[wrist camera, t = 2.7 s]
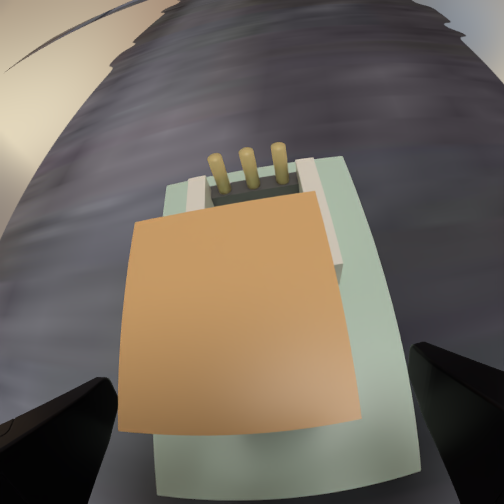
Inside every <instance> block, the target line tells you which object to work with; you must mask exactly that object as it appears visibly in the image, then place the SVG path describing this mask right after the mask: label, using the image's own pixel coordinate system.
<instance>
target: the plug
mask: <svg viewBox="0 0 504 504" xmlns="http://www.w3.org/2000/svg"><path fill="white" fill-rule="evenodd" d="M358 419H362V416H361V409H360V402H359V395H358V388H357V382H356V375H355V369H354V363H353V357H352V352H351V346H350V340H349V335H348V330H347V325H346V319H345V314H344V309H343V304H342V300H341V295H340V290H339V286H338V281H337V276H336V272H335V268H334V263H333V259H332V255H331V251H330V246H329V242H328V238H327V234H326V230H325V226H324V222H323V218H322V215H321V211H320V207H319V203H318V200H317V196H316V192H315V191H310V192H303V193H296V194H289V195H283V196H276V197H270V198H263V199H257V200H251V201H245V202H239V203H233V204H228V205H222V206H216V207H211V208H205V209H200V210H195V211H189V212H184V213H179V214H174V215H169V216H164V217H159V218H154V219H149V220H144V221H140V222H135V226H134V232H133V238H132V244H131V251H130V257H129V264H128V272H127V279H126V288H125V296H124V306H123V316H122V328H121V341H120V357H119V380H118V431H123V432H133V433H145V434H160V435H190V436H212V435H242V434H258V433H270V432H281V431H290V430H298V429H306V428H313V427H319V426H326V425H332V424H338V423H343V422H348V421H353V420H358Z"/></svg>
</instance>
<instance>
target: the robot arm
mask: <svg viewBox="0 0 504 504" xmlns="http://www.w3.org/2000/svg"><path fill="white" fill-rule="evenodd" d="M408 374H409V378H410V381H411V383H412V386H413V389H414V392H415V395H416V398H417V401H418V404H419V407H420V410H421V413H422V415H423V418H424V420H425V422H426V425H427V427H428V429H429V431H430V433H431V435H432V437H433V440H434V442H435V444H436V446H437V448H438V451H439V453H440V455H441V457H442V460H443V462H444V464H445V467H446V469H447V471H448V474H449V476H450V479H451V481H452V483H453V486H454V488H455V491H456V493H457V496H458V498H459V501H460V504H504V371H501V370H499V369H496V368H493V367H490V366H488V365H485V364H482V363H479V362H477V361H474V360H471V359H469V358H466V357H463V356H461V355H458V354H455V353H453V352H450V351H447V350H445V349H442V348H439V347H437V346H434V345H432V344H429V343H426V342H420V343H416V344H413V345H411V347H410V351H409V363H408ZM117 410H118V396H117V394H116V391H115V389H114V387H113V385H112V383H111V381H110V379H109V378H107V377H96V378H94V379H92V380H90V381H88V382H86V383H84V384H82V385H80V386H79V387H77V388H75V389H73V390H71V391H69V392H67V393H65V394H63V395H61V396H59V397H57V398H55V399H53V400H51V401H49V402H47V403H45V404H43V405H41V406H39V407H37V408H35V409H33V410H30V411H28V412H26V413H24V414H22V415H20V416H18V417H16V418H15V419H12V420H10V421H7V422H5V423H3V424H1V425H0V504H88V501H89V498H90V495H91V492H92V489H93V486H94V483H95V480H96V477H97V475H98V472H99V469H100V466H101V463H102V461H103V458H104V455H105V452H106V450H107V447H108V444H109V441H110V437H111V433H112V429H113V425H114V422H115V418H116V414H117Z"/></svg>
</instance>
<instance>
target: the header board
mask: <svg viewBox="0 0 504 504" xmlns="http://www.w3.org/2000/svg"><path fill="white" fill-rule="evenodd" d="M271 151H272V158H273V164H274V165H273V166H266V167H260V168H257V166H256V161H255V157H254V152H253V149H252V148H249V147H246V148H243V149H241V150H240V151H239V156H240V160H241V164H242V167H243V171H237V172H232V173H227V172H226V169H225V166H224V163H223V159H222V156H221V154H219V153H214V154H211V155H210V156H209V157H208V159H207V160H208V163H209V166H210V168H211V171H212V174H213V176H210V177H206V175H205V176H200V177H195V178H190V179H188V181H186V182H181V183H177V184H172V185H168V186H167V189H166V196H165V204H164V211H163V217H164V216H169V215H174V214H179V213H184V212H189V211H195V210H200V209H205V208H211V207H216V206H222V205H228V204H233V203H239V202H245V201H251V200H257V199H263V198H270V197H276V196H283V195H289V194H296V193H303V192H310V191H315V192H316V196H317V200H318V203H319V207H320V211H321V215H322V218H323V222H324V226H325V230H326V234H327V238H328V242H329V246H330V251H331V255H332V259H333V263H334V268H335V272H336V276H337V281H338V286H339V290H340V295H341V300H342V304H343V309H344V314H345V319H346V325H347V330H348V335H349V340H350V346H351V352H352V357H353V363H354V369H355V375H356V382H357V388H358V395H359V402H360V409H361V416H362V419H358V420H353V421H348V422H343V423H338V424H332V425H326V426H319V427H313V428H306V429H298V430H290V431H281V432H270V433H258V434H242V435H212V436H190V435H160V434H153V442H154V461H155V476H156V488H157V495H159V496H167V497H176V498H187V499H202V500H269V499H283V498H295V497H304V496H312V495H320V494H326V493H333V492H338V491H344V490H349V489H354V488H359V487H364V486H368V485H373V484H377V483H381V482H385V481H388V480H392V479H396V478H399V477H403V476H406V475H409V474H413V473H416V472H419V471H421V463H420V453H419V443H418V435H417V427H416V420H415V413H414V406H413V400H412V394H411V388H410V382H409V377H408V371H407V366H406V361H405V357H404V352H403V347H402V343H401V338H400V334H399V330H398V325H397V321H396V317H395V313H394V309H393V305H392V302H391V298H390V294H389V290H388V287H387V283H386V280H385V276H384V273H383V269H382V266H381V263H380V259H379V256H378V253H377V250H376V247H375V244H374V240H373V237H372V234H371V231H370V228H369V225H368V223H367V220H366V217H365V214H364V211H363V208H362V206H361V203H360V200H359V197H358V195H357V192H356V189H355V187H354V184H353V181H352V179H351V176H350V174H349V171H348V169H347V166H346V164H345V161H344V159H343V156H339V157H330V158H322V159H314V158H306V159H298V160H295V162H293V163H287V155H286V147H285V144H284V143H281V142H276V143H274V144H272V145H271Z"/></svg>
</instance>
